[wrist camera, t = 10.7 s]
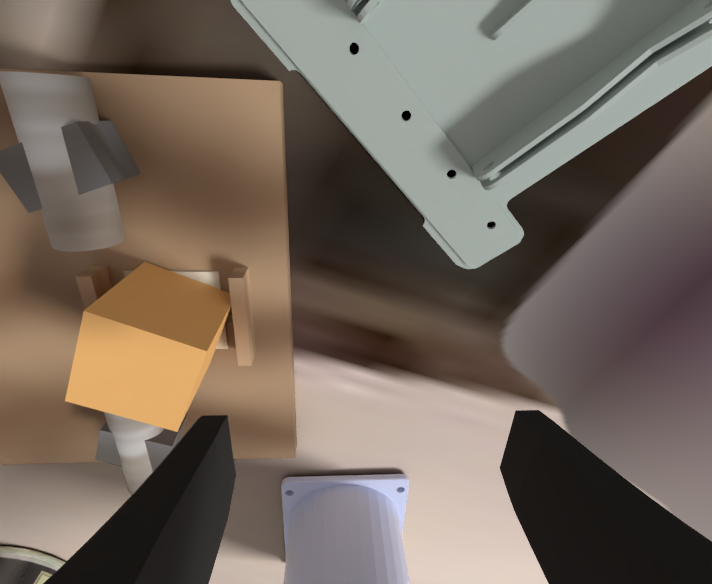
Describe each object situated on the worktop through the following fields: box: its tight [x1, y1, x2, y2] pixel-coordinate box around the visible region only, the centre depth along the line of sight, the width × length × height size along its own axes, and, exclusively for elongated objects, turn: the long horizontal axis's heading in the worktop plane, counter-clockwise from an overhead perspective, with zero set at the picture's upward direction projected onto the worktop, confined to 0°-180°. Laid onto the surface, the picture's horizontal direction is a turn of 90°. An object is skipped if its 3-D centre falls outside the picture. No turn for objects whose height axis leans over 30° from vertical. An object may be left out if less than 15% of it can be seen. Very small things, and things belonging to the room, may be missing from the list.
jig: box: [0, 68, 297, 495], centre depth 17 cm, size 19×18×3 cm
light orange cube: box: [65, 262, 231, 432], centre depth 15 cm, size 4×4×4 cm
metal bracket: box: [231, 0, 712, 269], centre depth 14 cm, size 14×6×15 cm
